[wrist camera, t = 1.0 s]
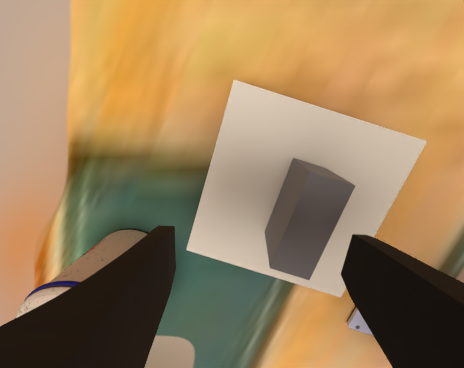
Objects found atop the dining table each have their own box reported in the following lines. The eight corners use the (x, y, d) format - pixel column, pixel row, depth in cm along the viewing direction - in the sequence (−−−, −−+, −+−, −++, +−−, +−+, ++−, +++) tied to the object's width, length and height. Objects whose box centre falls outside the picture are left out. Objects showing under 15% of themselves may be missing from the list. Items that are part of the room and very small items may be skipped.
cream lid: (413, 139, 16) (501, 149, 10) (335, 286, 19) (368, 351, 14) (235, 82, 15) (228, 61, 10) (190, 242, 19) (167, 289, 14)
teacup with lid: (98, 217, 23) (-43, 306, 12) (182, 237, 23) (120, 345, 12) (93, 306, 27) (-21, 440, 15) (166, 324, 26) (106, 472, 15)
